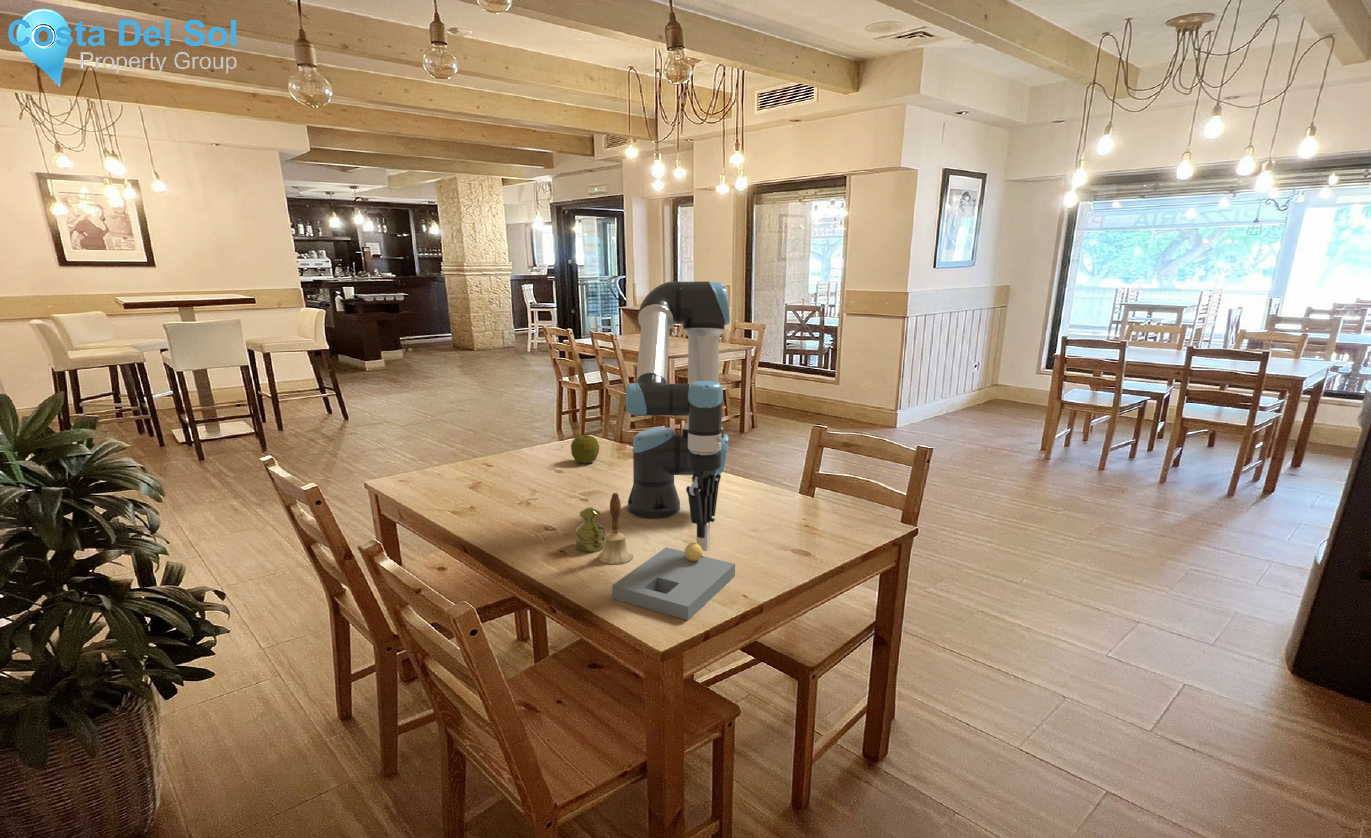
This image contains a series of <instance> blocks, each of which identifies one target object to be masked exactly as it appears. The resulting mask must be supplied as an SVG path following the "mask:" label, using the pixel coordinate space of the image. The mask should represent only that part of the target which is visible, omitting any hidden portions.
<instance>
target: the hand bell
mask: <svg viewBox="0 0 1371 838" xmlns="http://www.w3.org/2000/svg"><path fill="white" fill-rule="evenodd" d="M611 494H612V495H611V498H610V502H609V512H610V517H611V533H608V534H607V535H606V536H605V547H604V548H603V549H602V551H601V552H600V553H599V554H598V560H599V561H600V562H602V563H603V564H608V565H621V564H625V563H628V562H630V561H632V559H633V558H634V553H632V551H631V550H630V549H629V547H628V545H627V542H626V536H625V535H624V533H621V532H620V531H619V529H620V525H619V524H620V523H619V521H620V515H621V509H622V506H621V505H622V504H621V500H620V496H619V493H618V492H613V493H611Z"/></svg>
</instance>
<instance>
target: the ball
mask: <svg viewBox="0 0 1371 838" xmlns="http://www.w3.org/2000/svg"><path fill="white" fill-rule="evenodd" d="M684 552H685V556H686V557H687V559H689V560H691V561H697V560H699V559H700V558H701V556H703V550H702V548H701V546H700V545H698V544H697V542H691V543H689V544H687V545H686V547H685V548H684Z"/></svg>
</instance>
